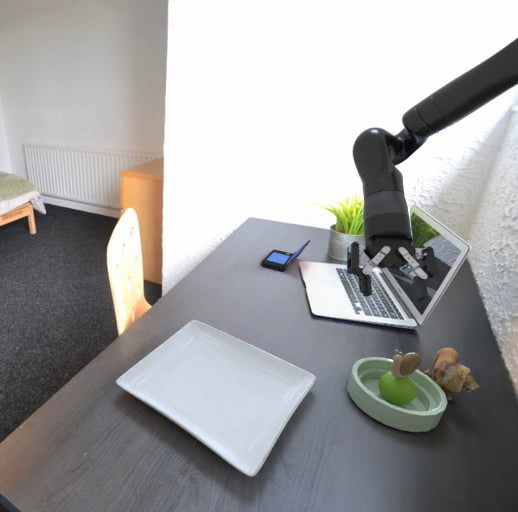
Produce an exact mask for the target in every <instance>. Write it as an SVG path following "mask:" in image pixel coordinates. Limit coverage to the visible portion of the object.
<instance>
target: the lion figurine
mask: <svg viewBox="0 0 518 512" xmlns="http://www.w3.org/2000/svg"><path fill="white" fill-rule="evenodd" d="M459 358H460V355H459V352H457V351H456V350H455V349H454V348H452V347H442V348H441V349H439V350H438V351H437V353H436V354H435V355H434V357H433V358H432V359H431V361H432V362H431V365H429V367H428V368H427V369H426V370H424V371H423V373H424V374H426V375H427V376H429V377H430V378H431V379H432V380H433V381H434V382H436V383H437V384H438V385H439V386H440V388H441V389H442V390H443V392H444V393H445V395H446V399H447V401H452V400H453V398H452V397H451V396H450V394H451V393H460V392H461V391H462V390H463V389H464V390H465V391H466V392H468V393H470V392H472V391H475V390H477V389H479V388H480V385H479V384H478V383H477V382H476V381H475V380H474V377H473V376H472V375H471V373H472V372H471V368H470V367H468V366H464V365H463V364H461V363H459Z"/></svg>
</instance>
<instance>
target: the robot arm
mask: <svg viewBox="0 0 518 512" xmlns="http://www.w3.org/2000/svg"><path fill="white" fill-rule="evenodd" d="M517 85H518V37H516V38H515V39H513V40H512V41H511V42H509V43H508V44H507V45H505V46H504V47H503V48H501V49H499V50H498V51H497V52H495V53H494V54H492V55H491V56H489V57H488V58H486V59H485V60H483V61H481V62H480V63H479V64H477V65H476V66H473V67H472V68H470V69H469V70H467V71H464V73H461V75H459V76H457V77H456V78H454V79H452V80H451V81H448V82H447V83H446V84H445V85H443V86H441V87H440V88H438V89H437V90H435V91H433V92H432V93H431V94H429V95H427V96H426V97H424V98H423V99H422V100H420V101H419V102H417V103H416V104H415V105H413V106H412V107H410V108H409V109H408V110H406V111H405V112H404V113H403V115H402V117H401V123H402V126H403V128H402V129H401V130H400V131H399V132H398V133H396V134H393V133H391V132H390V131H388V130H386V129H384V128H382V127H378V126H377V127H375V126H374V127H369V128H366V129H364V130H363V131H362V132H360V133H359V135H357V137H356V138H355V140H354V142H353V145H352V151H351V153H352V159H353V163H354V165H355V169H356V171H357V174H358V177H359V179H360V181H361V184H362V185H361V187H362V198H363V199H362V200H363V203H362V205H363V206H362V221H363V223H362V224H363V234H364V235H363V237H364V242H365V243H364V244H360V243H359V242H358V241H353V242H351V243H350V245H348V246H347V248H346V249H347V250H346V273H347V274H349V275H354V276H357V278H358V290H359V292H360V294H362V297H370V296H372V295H373V287H372V286H373V285H372V276H371V275H369V274H370V273H371V272H372V271H373V270H374V269H375V268H376V267H378V269H391V270H398V269H399V270H400V271H401V272H402V273H403V274H405V275H407V276H408V277H409V278H410V279H411V280H412V281H411V287H412V295H413V301H414V302H418V303H419V302H423V301H425V299H426V298H427V297H428V295H429V294H428V293H429V292H428V286H427V281H430V280H432V279H434V278H437V277H439V269H438V265H437V260H436V255H435V251H434V250H435V249H434V248H433V247H432V246H426V247H415V246H414V244H413V232H412V222H411V221H412V220H411V213H410V206H409V205H410V204H409V202H408V199H407V193H406V192H407V191H406V185H405V177H404V176H403V173H402V171H401V170H399V169H398V168H397V167H399V166H400V165H402V164H403V163H405V162H406V161H408V160H409V159H410V158H411V157H412V156H413V155H414V154H415V153H417V151H419V150H420V149H421V148H422V147H424V146H425V144H426V143H428V141H430V140H431V139H432V138H433V137H435V136H437V135H438V134H440V133H442V132H444V131H445V130H447V129H449V128H451V127H452V126H454V125H455V124H457V123H459V122H460V121H462V120H463V119H465V118H467V117H468V116H470V115H472V114H473V113H474V112H476V111H478V110H480V109H481V108H482V107H484V106H485V105H487V104H489V103H490V102H492V101H494V100H495V99H496V98H498V97H500V96H501V95H503V94H504V93H506V92H508V91H509V90H511V89H513V88H514V87H516V86H517ZM362 253H364V254H365V255H366V256H367V258H368V260H367V261H366V263H365V264H364V265H363V266H362V267H361V266H360V255H361V254H362ZM414 256H416V259H417V260H419V263H418V261H416V259H415V258H414Z"/></svg>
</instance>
